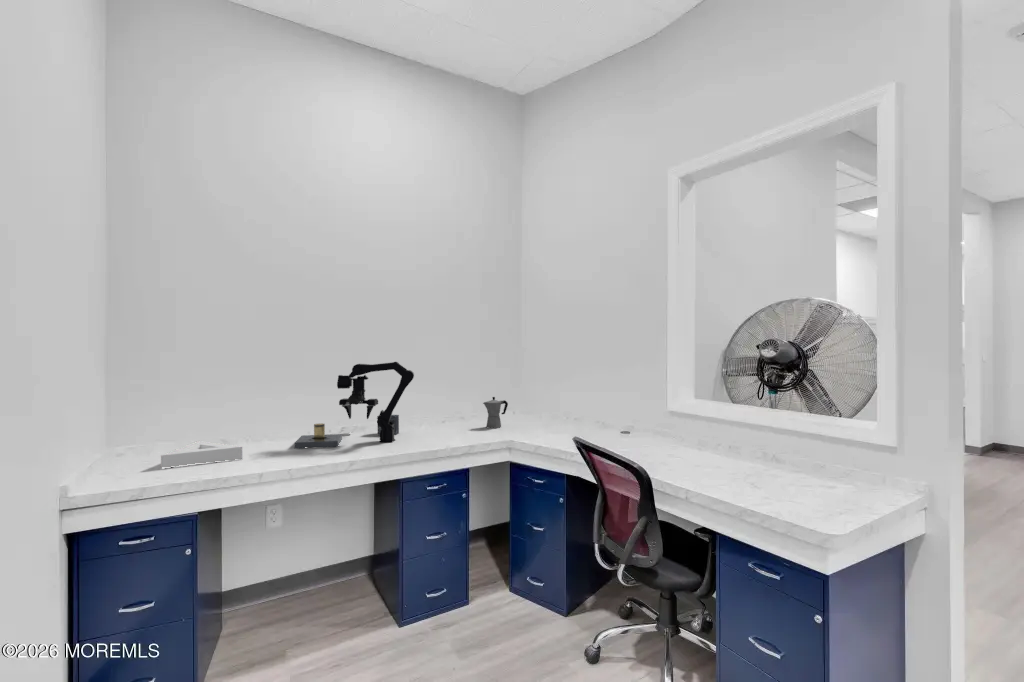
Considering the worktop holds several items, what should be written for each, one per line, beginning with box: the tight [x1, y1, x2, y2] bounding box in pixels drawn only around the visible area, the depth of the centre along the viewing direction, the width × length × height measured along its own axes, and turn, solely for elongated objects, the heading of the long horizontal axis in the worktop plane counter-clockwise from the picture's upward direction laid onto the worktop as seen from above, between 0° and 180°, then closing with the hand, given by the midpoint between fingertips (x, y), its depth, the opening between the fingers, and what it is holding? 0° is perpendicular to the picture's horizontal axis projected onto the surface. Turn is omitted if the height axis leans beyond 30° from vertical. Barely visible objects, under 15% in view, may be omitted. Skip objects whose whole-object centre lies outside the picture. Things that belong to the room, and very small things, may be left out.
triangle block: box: [160, 440, 243, 468], centre depth 233 cm, size 30×26×6 cm
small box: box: [376, 414, 400, 436], centre depth 294 cm, size 11×6×10 cm, turn 84°
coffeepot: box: [482, 396, 509, 429], centre depth 315 cm, size 15×9×18 cm, turn 109°
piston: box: [313, 423, 326, 440], centre depth 267 cm, size 5×5×10 cm
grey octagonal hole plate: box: [294, 433, 343, 449], centre depth 267 cm, size 20×18×3 cm
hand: (358, 418), depth 271 cm, fingers open, 9 cm apart
